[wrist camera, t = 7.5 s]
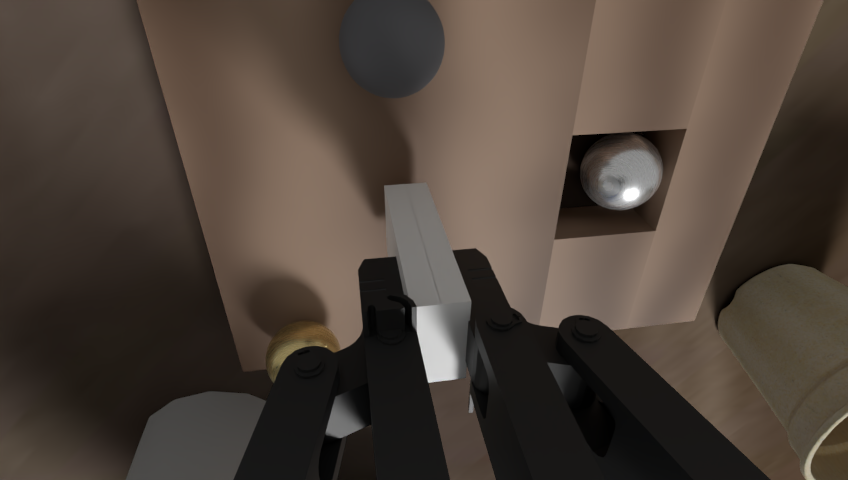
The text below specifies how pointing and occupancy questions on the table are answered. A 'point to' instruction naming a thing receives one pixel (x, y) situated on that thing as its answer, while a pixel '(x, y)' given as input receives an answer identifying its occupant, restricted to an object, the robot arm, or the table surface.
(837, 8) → the table surface
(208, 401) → the cup
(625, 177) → the steel ball
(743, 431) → the table surface
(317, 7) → the board
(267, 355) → the brass ball
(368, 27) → the rubber ball
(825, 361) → the flower pot
